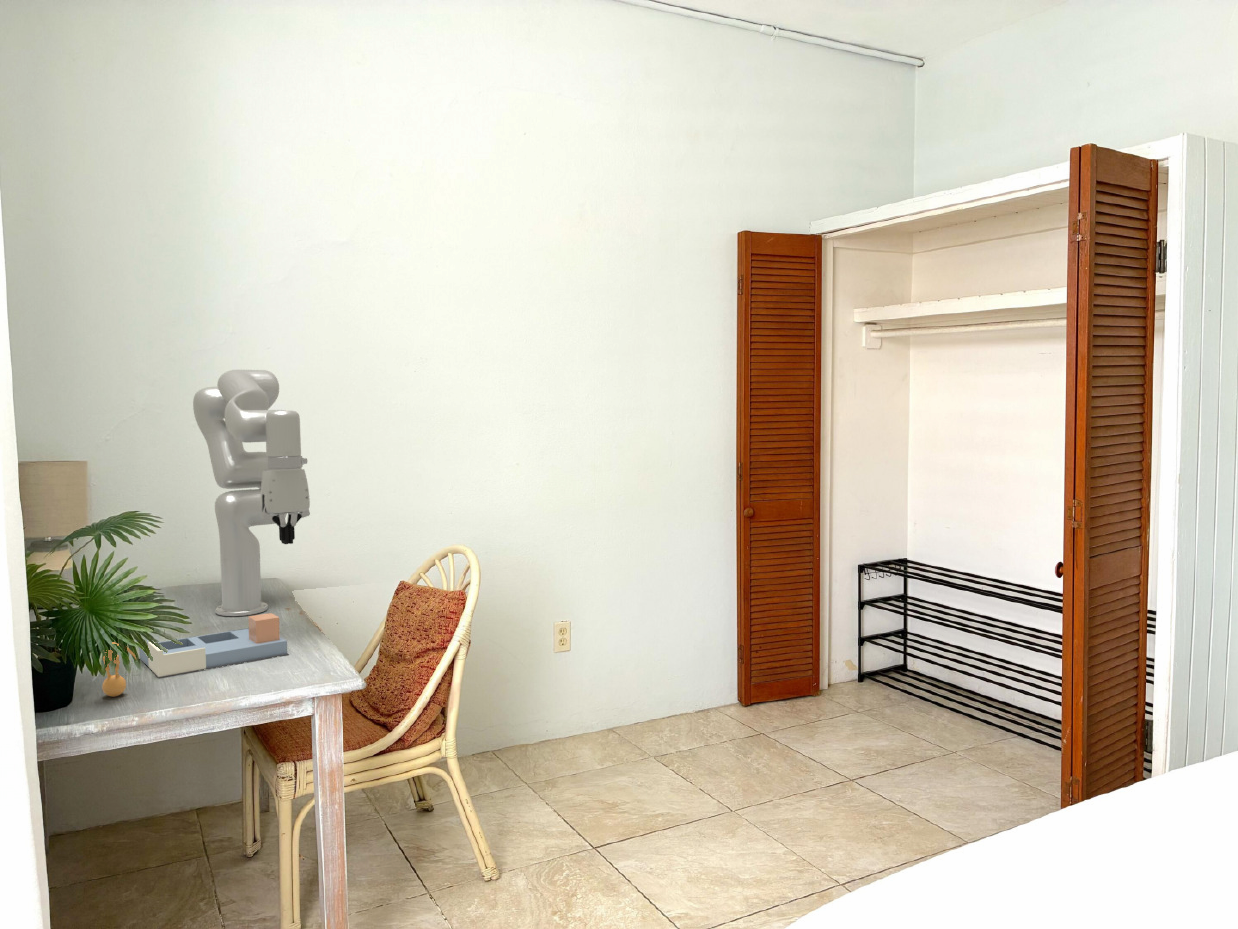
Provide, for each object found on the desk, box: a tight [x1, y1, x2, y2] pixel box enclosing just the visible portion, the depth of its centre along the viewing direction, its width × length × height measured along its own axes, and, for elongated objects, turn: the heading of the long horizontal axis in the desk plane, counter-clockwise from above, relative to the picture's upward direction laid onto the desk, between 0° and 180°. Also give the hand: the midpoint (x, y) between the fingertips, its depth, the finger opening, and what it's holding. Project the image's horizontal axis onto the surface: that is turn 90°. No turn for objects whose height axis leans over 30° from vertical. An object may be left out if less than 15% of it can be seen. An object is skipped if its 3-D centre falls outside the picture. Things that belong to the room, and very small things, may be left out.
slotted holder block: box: [138, 627, 290, 679], centre depth 199 cm, size 17×26×6 cm, turn 129°
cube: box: [247, 612, 281, 644], centre depth 202 cm, size 5×5×5 cm
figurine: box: [101, 641, 137, 698], centre depth 173 cm, size 8×6×12 cm
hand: (287, 543), depth 213 cm, fingers closed
